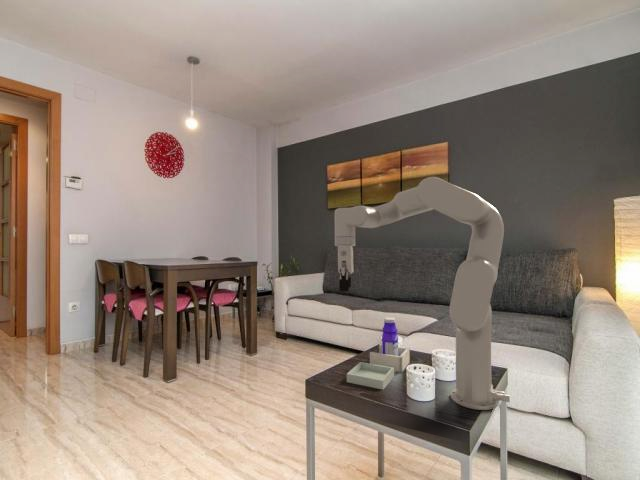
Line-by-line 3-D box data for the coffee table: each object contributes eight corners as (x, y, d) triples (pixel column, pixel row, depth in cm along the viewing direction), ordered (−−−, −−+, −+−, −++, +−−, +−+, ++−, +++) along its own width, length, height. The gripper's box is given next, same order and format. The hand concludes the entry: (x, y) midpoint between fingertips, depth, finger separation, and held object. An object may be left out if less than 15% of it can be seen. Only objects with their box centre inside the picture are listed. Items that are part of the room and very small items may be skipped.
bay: (409, 362, 131) (409, 348, 131) (401, 373, 120) (401, 357, 120) (380, 357, 136) (379, 344, 136) (369, 367, 126) (369, 352, 126)
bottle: (394, 368, 124) (394, 321, 124) (379, 365, 126) (379, 319, 127) (400, 362, 130) (400, 317, 130) (386, 360, 133) (385, 315, 133)
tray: (394, 375, 118) (394, 367, 118) (383, 389, 106) (383, 380, 106) (360, 369, 124) (360, 361, 124) (346, 382, 112) (346, 373, 112)
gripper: (353, 241, 113) (354, 292, 113) (356, 242, 130) (357, 286, 130) (331, 242, 114) (332, 292, 114) (337, 242, 131) (337, 286, 131)
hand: (345, 289), depth 122 cm, fingers open, 9 cm apart
